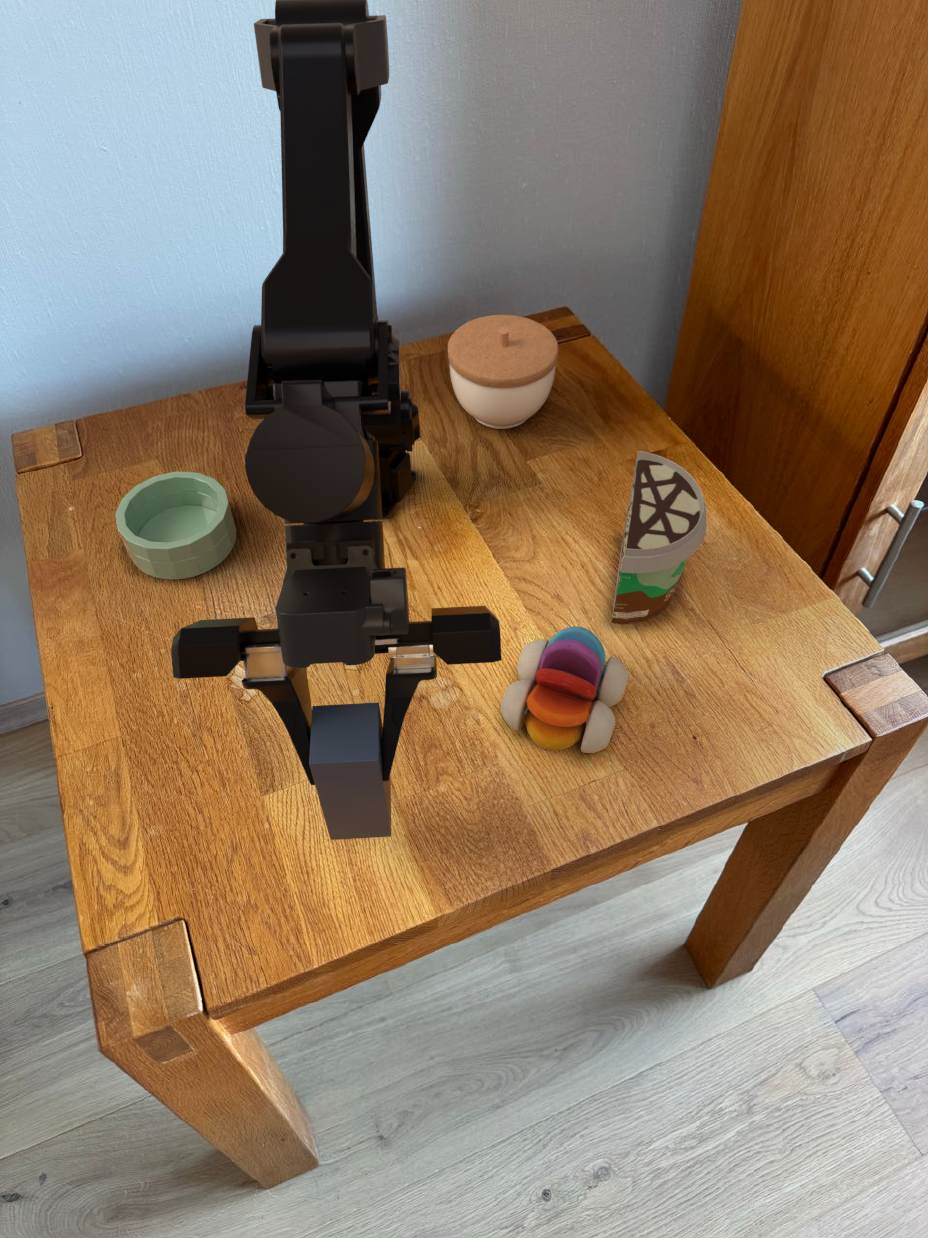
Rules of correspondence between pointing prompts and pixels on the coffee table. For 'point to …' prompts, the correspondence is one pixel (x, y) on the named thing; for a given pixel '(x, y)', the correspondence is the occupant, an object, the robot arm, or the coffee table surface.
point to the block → (350, 770)
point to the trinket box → (502, 368)
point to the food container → (657, 537)
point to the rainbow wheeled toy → (566, 691)
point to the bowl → (176, 525)
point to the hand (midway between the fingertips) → (350, 781)
